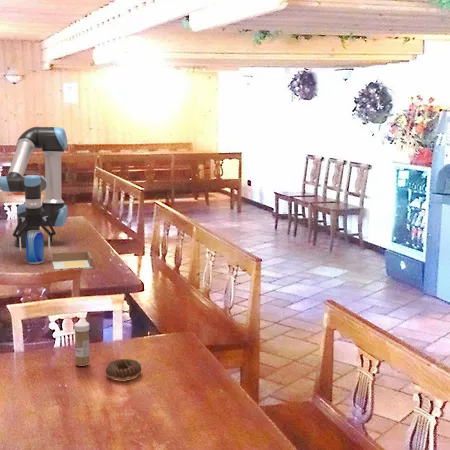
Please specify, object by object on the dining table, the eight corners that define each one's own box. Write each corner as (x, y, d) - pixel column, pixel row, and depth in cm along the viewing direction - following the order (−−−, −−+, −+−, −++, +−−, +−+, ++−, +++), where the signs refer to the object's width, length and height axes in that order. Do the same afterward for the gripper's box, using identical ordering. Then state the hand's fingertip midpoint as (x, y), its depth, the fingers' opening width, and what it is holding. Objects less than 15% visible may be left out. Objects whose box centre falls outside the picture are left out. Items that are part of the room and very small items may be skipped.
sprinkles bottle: (72, 364, 200) (71, 323, 198) (84, 360, 204) (83, 320, 201) (81, 369, 197) (80, 327, 195) (93, 364, 201) (92, 323, 198)
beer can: (39, 265, 315) (38, 233, 312) (23, 264, 316) (22, 232, 313) (47, 261, 323) (46, 230, 320) (31, 260, 325) (30, 229, 321)
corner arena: (52, 262, 320) (52, 253, 319) (89, 260, 326) (89, 251, 325) (54, 270, 306) (53, 260, 305) (92, 268, 312) (92, 258, 311)
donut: (144, 369, 199) (144, 357, 198) (137, 384, 188) (137, 371, 187) (110, 368, 199) (110, 355, 198) (101, 382, 189) (101, 370, 188)
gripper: (6, 209, 307) (8, 252, 311) (60, 207, 315) (61, 250, 319) (6, 206, 314) (8, 249, 318) (59, 205, 322) (60, 246, 326)
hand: (35, 249), depth 318 cm, fingers open, 13 cm apart
